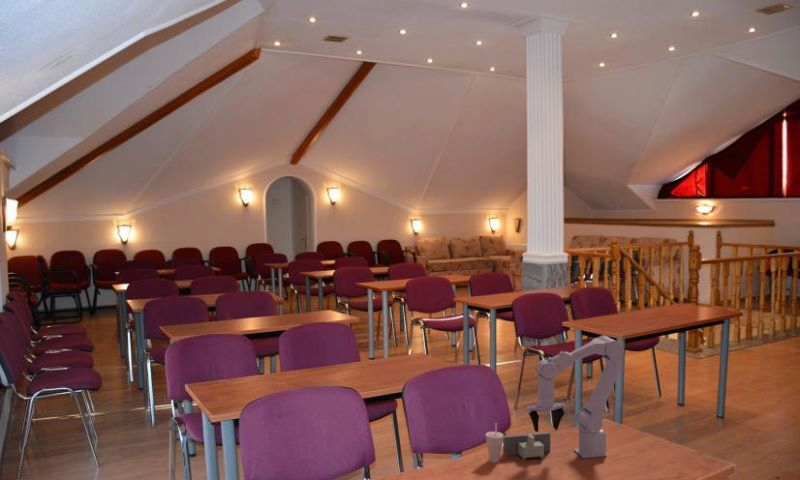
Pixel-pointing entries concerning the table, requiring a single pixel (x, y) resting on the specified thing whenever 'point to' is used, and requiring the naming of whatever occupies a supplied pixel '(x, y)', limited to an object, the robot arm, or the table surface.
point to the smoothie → (494, 445)
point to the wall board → (512, 441)
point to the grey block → (530, 448)
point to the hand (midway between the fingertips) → (545, 430)
